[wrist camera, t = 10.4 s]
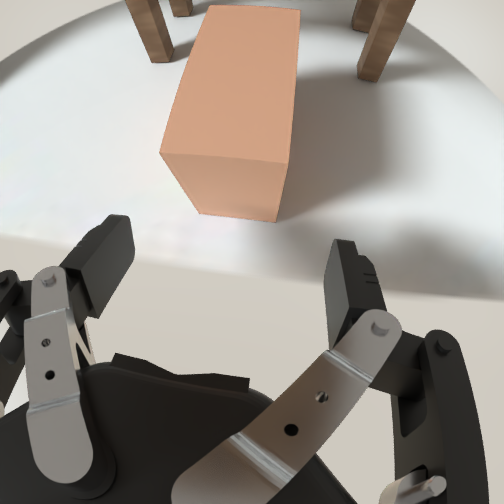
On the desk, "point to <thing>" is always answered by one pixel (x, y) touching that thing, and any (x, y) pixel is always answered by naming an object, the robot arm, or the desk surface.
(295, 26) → the terracotta block
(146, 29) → the walnut cabinet
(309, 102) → the desk surface
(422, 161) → the desk surface
